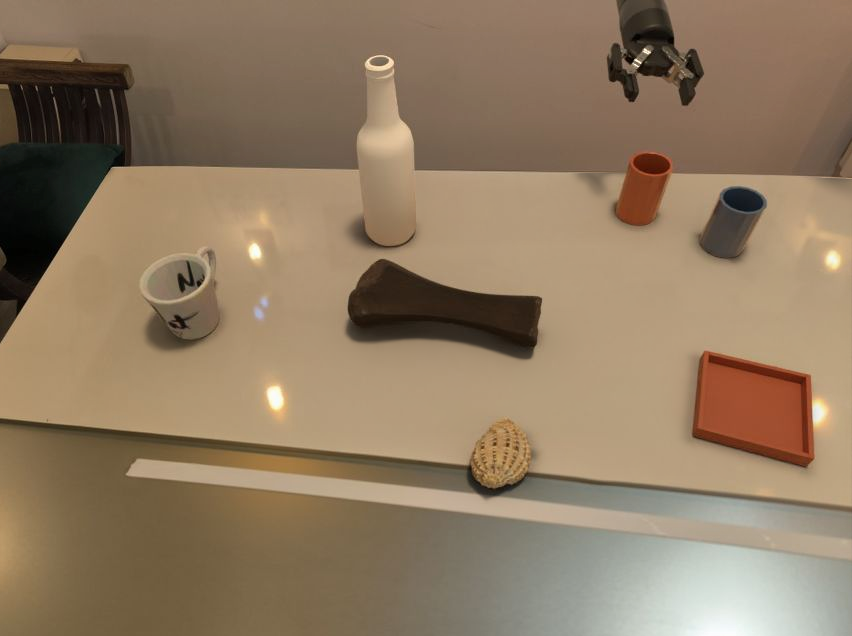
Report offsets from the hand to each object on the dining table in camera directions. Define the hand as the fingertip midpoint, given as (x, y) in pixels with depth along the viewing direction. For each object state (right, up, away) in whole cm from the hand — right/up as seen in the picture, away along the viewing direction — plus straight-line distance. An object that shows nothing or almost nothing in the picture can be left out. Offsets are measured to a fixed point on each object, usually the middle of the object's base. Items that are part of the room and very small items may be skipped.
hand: (661, 99), depth 93 cm
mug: (-72, -33, +4) cm, 79 cm away
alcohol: (-42, -18, +13) cm, 47 cm away
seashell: (-28, -53, -16) cm, 62 cm away
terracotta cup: (+1, -15, +12) cm, 19 cm away
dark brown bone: (-34, -34, -1) cm, 48 cm away
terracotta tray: (+6, -46, -13) cm, 49 cm away
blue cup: (+12, -21, +6) cm, 25 cm away
